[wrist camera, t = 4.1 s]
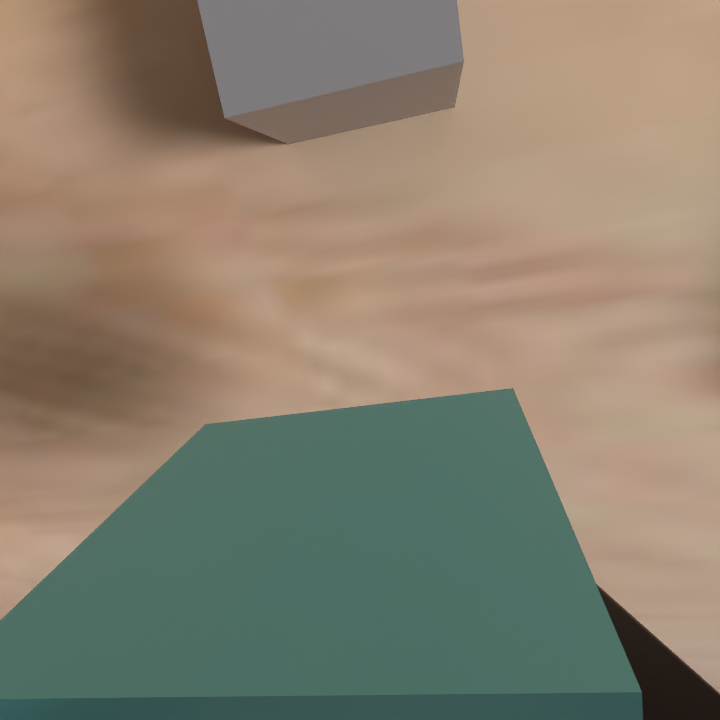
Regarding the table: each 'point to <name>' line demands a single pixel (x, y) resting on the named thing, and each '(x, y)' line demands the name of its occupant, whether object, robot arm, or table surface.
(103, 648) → the teal cube
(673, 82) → the table surface
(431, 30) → the gray cube
